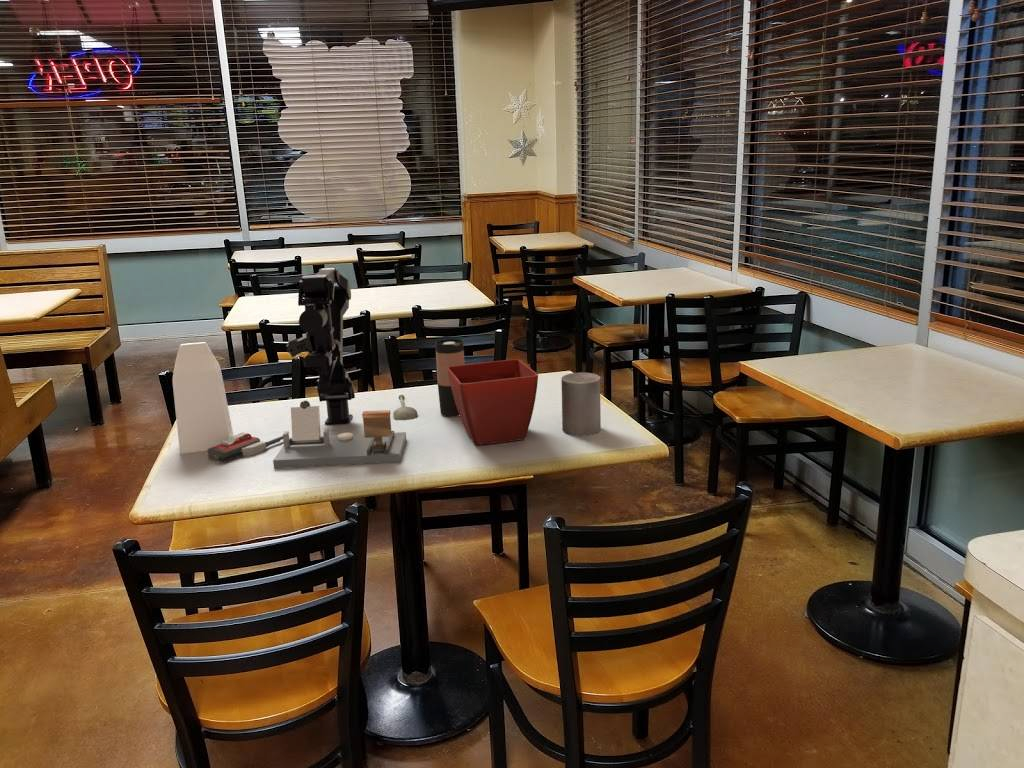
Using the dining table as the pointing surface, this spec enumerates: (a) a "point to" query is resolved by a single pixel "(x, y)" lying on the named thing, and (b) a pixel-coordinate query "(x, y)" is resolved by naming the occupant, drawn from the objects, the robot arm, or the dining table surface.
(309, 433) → the light grey piece
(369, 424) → the walnut slider lever
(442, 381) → the travel mug
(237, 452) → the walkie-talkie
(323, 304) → the robot arm
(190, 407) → the milk
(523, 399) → the plant pot
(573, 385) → the pillar candle
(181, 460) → the dining table surface
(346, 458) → the control panel
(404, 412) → the soupspoon
